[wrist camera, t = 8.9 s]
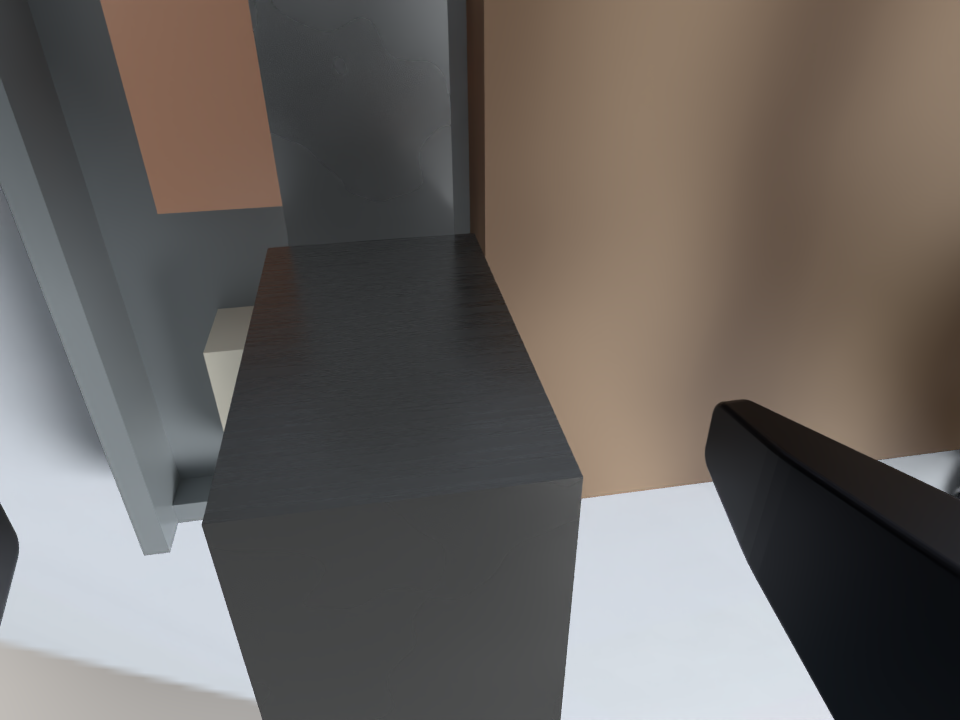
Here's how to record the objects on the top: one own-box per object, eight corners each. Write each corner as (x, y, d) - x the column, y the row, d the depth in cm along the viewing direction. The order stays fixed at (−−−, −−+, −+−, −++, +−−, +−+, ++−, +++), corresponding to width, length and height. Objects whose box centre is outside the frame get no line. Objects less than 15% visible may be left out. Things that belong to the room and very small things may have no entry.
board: (1112, -139, 14) (1242, -152, 12) (901, 400, 22) (960, 448, 20) (459, -143, 12) (483, -159, 10) (471, 450, 20) (486, 510, 18)
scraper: (437, -121, 10) (652, -251, 3) (459, 508, 17) (542, 912, 10) (233, -121, 10) (-49, -272, 3) (338, 524, 17) (336, 956, 10)
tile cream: (391, 294, 16) (397, 335, 15) (403, 427, 18) (409, 476, 17) (217, 308, 16) (203, 353, 14) (250, 444, 18) (240, 496, 16)
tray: (459, -143, 12) (483, -159, 10) (471, 450, 20) (486, 510, 18) (-47, -147, 11) (-135, -165, 9) (166, 486, 19) (144, 555, 17)
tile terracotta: (353, -46, 13) (355, -43, 11) (373, 170, 15) (377, 200, 13) (124, -43, 12) (89, -40, 10) (179, 181, 14) (157, 213, 12)
